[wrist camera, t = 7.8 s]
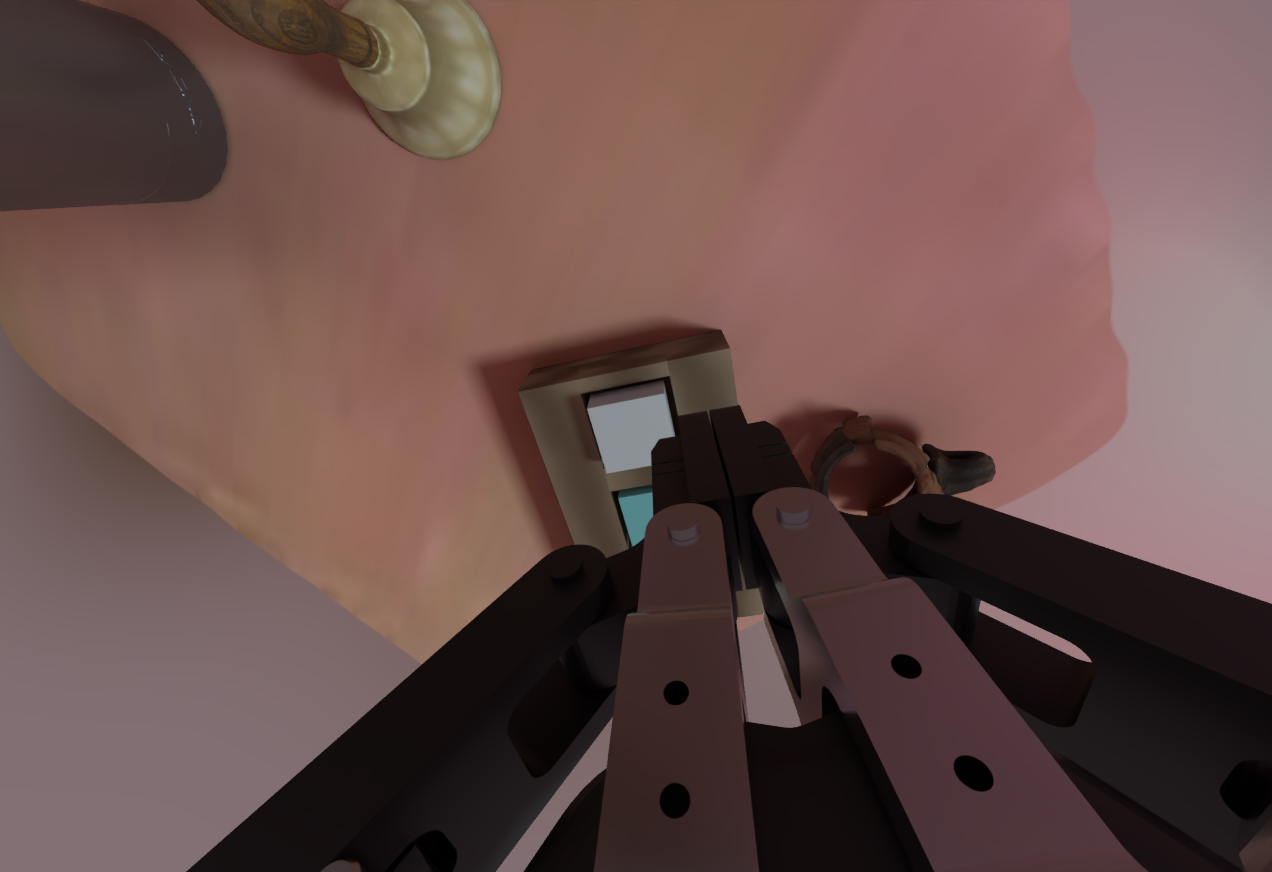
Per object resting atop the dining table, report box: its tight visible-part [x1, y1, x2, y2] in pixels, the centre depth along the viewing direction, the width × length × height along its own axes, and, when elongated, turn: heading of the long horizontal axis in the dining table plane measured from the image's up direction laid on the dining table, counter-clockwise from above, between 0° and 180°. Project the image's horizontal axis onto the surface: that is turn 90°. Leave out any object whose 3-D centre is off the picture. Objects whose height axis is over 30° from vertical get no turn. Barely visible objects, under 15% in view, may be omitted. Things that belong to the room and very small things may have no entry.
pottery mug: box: [810, 416, 996, 517], centre depth 36 cm, size 12×10×8 cm
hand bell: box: [197, 0, 501, 160], centre depth 20 cm, size 8×8×16 cm
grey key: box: [587, 380, 675, 473], centre depth 32 cm, size 5×5×2 cm
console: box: [518, 330, 763, 617], centre depth 38 cm, size 14×24×4 cm, turn 13°
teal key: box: [618, 484, 653, 546], centre depth 37 cm, size 5×5×2 cm
